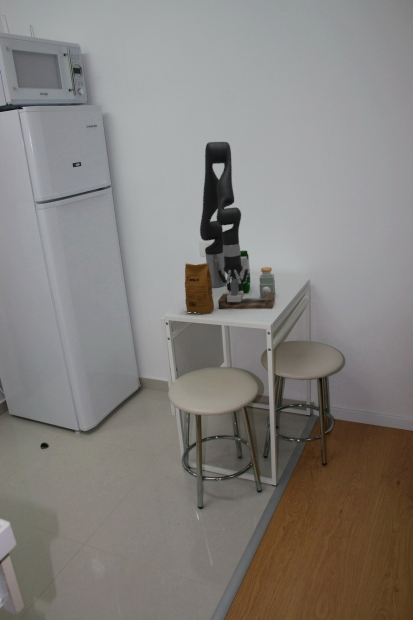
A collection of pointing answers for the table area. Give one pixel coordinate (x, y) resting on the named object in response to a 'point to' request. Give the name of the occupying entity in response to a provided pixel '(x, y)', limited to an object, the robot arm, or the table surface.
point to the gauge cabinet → (267, 285)
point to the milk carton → (245, 265)
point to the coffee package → (198, 288)
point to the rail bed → (247, 302)
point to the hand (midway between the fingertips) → (235, 291)
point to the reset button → (266, 271)
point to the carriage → (234, 292)
